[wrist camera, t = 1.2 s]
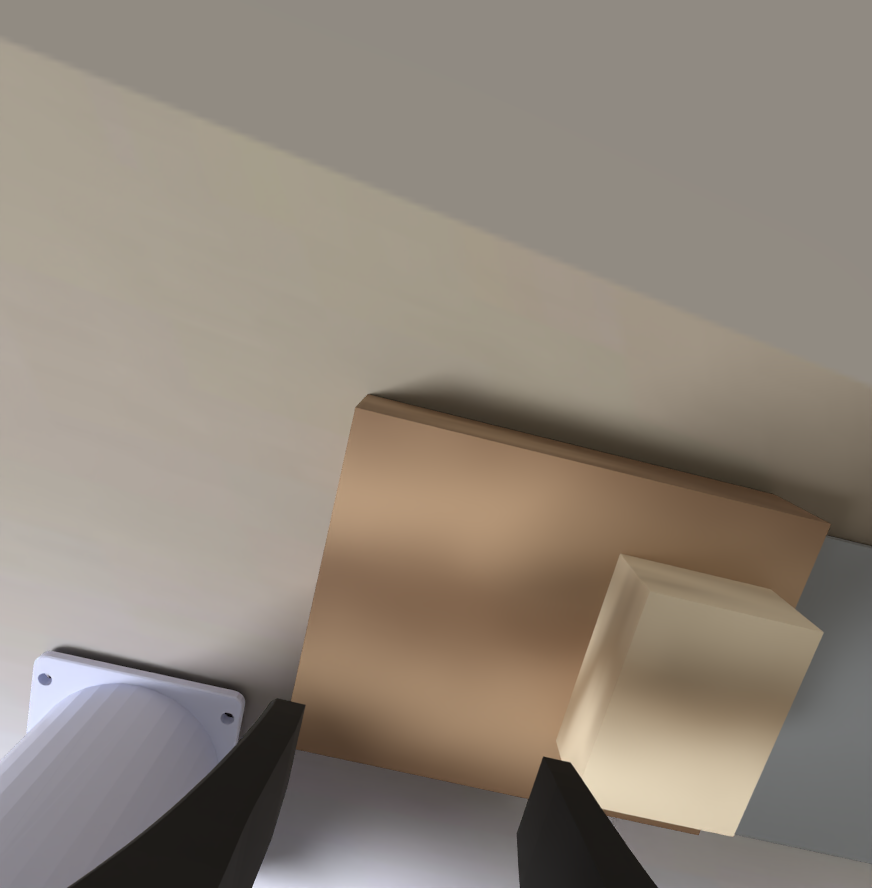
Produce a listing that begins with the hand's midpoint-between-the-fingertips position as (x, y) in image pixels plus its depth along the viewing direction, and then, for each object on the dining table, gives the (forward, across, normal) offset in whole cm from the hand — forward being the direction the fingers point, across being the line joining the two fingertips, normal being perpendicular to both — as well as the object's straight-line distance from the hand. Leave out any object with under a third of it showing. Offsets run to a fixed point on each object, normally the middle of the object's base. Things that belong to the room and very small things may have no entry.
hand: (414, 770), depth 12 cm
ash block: (+6, -8, 0) cm, 10 cm away
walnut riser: (+9, -4, 0) cm, 10 cm away
